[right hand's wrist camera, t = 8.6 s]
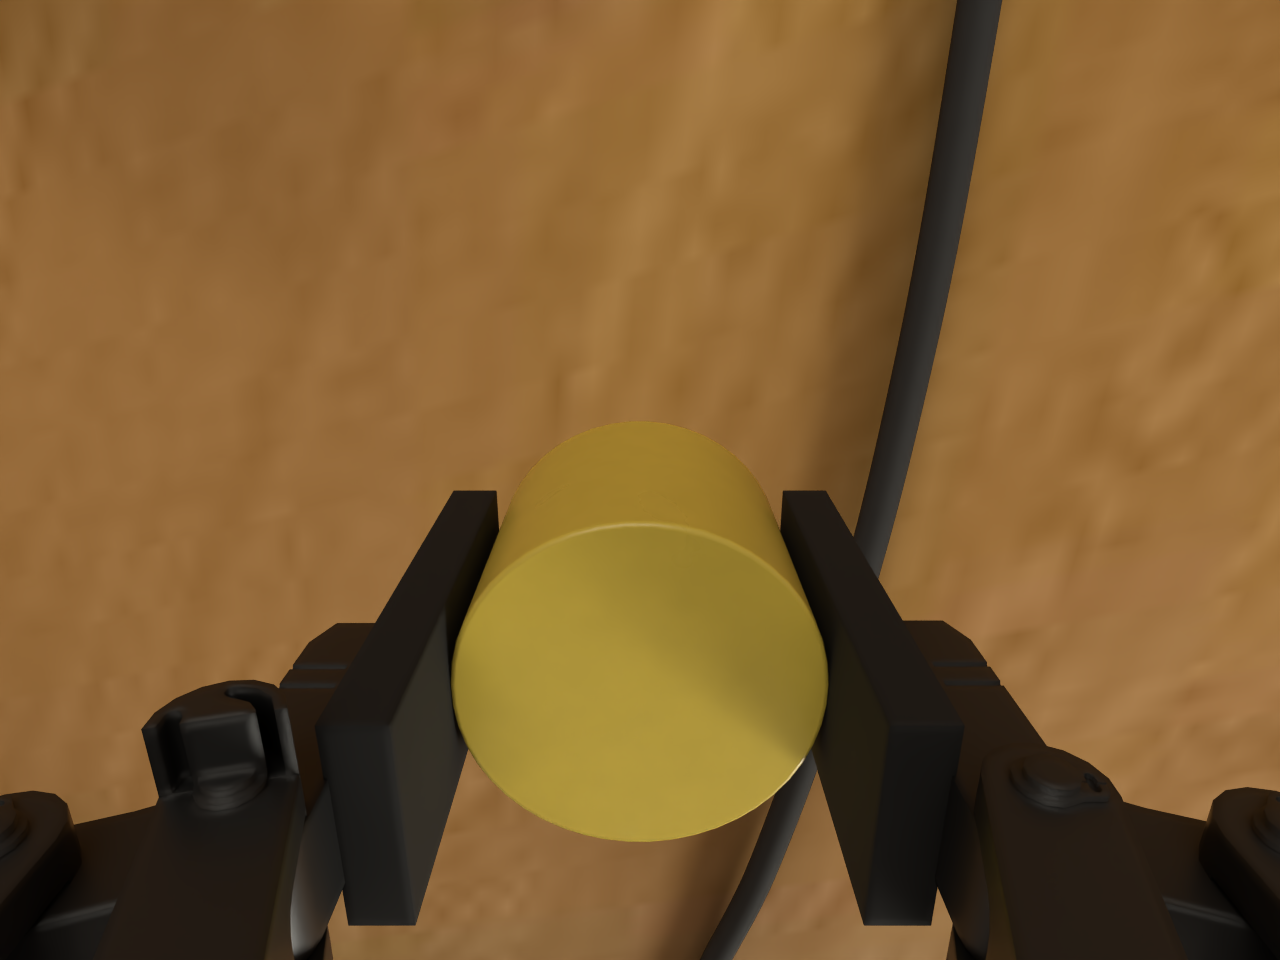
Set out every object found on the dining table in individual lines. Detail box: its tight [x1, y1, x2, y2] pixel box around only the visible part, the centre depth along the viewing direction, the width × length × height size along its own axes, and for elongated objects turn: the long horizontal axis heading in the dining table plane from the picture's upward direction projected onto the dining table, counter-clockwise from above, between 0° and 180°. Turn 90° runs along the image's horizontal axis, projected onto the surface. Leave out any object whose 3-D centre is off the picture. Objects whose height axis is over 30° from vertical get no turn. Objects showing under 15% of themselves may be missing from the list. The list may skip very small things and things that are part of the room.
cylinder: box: [451, 421, 829, 842], centre depth 13 cm, size 5×5×4 cm
